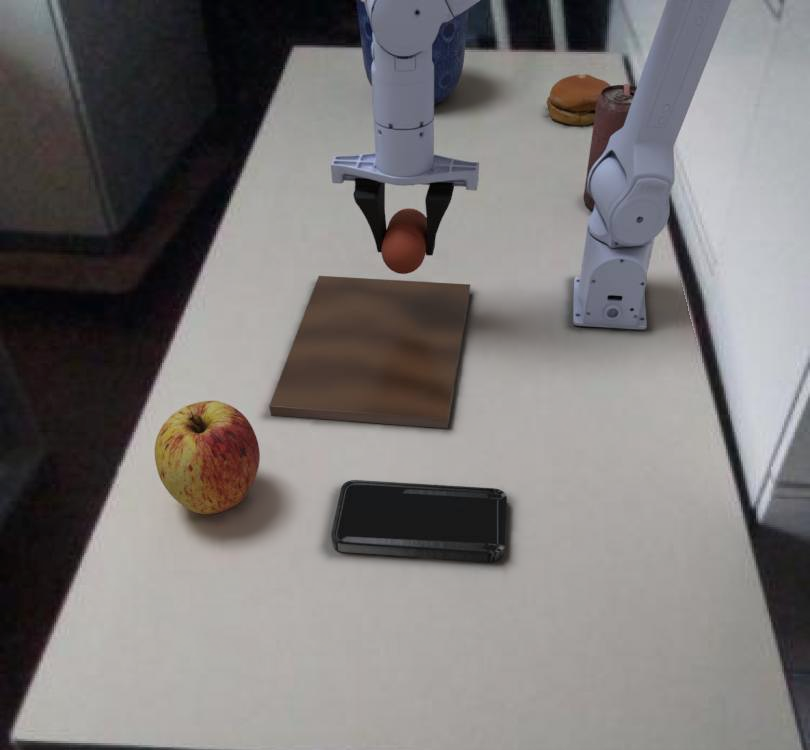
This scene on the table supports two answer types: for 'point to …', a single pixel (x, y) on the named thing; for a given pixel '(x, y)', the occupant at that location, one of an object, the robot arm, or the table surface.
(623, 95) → the can
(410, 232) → the sweet potato
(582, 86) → the burger
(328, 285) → the board
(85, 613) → the table surface
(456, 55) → the planter
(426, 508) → the phone
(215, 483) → the apple
